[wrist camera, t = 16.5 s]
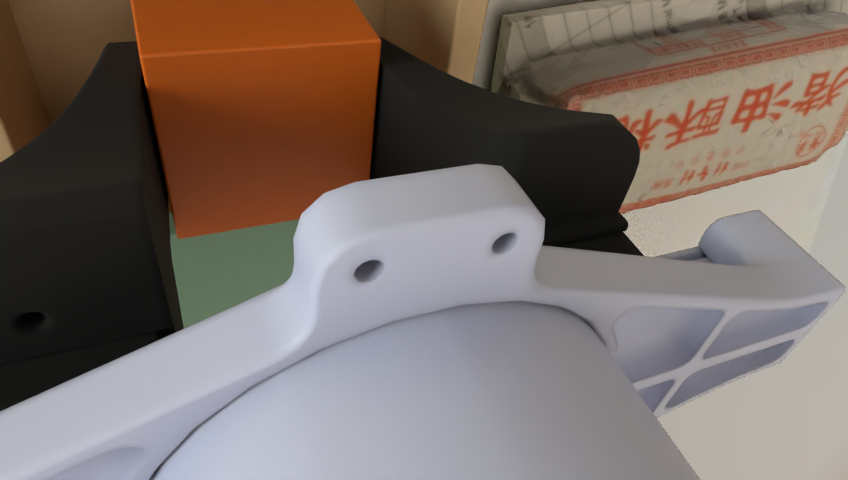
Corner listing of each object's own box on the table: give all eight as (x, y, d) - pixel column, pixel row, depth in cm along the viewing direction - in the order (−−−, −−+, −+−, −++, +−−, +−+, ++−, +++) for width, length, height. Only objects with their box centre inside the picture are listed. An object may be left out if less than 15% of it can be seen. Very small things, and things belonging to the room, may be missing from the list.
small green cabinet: (-39, 79, 17) (-79, 275, 12) (415, 47, 22) (516, 178, 17) (85, 364, 26) (90, 539, 21) (384, 297, 31) (443, 427, 26)
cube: (158, 128, 15) (177, 240, 12) (122, -43, 12) (139, 55, 9) (320, 111, 16) (368, 209, 14) (322, -46, 13) (382, 39, 11)
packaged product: (513, 284, 26) (563, 73, 19) (465, 210, 29) (492, 4, 22) (827, 194, 31) (958, 2, 24) (758, 139, 34) (856, -44, 27)
